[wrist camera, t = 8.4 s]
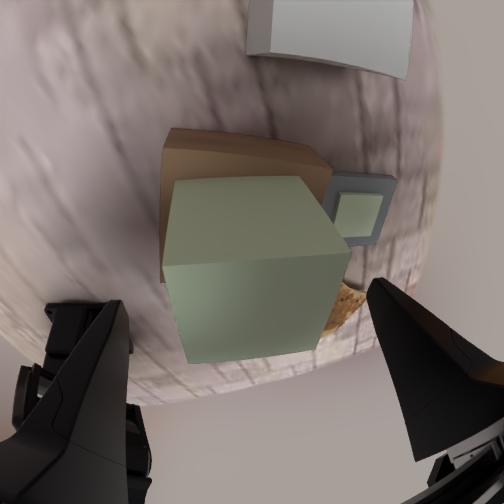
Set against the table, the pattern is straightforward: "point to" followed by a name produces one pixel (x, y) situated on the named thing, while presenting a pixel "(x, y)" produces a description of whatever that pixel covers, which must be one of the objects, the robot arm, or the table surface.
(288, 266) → the sage cube
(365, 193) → the card
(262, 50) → the grey cube
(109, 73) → the table surface
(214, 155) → the walnut block
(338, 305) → the shard
